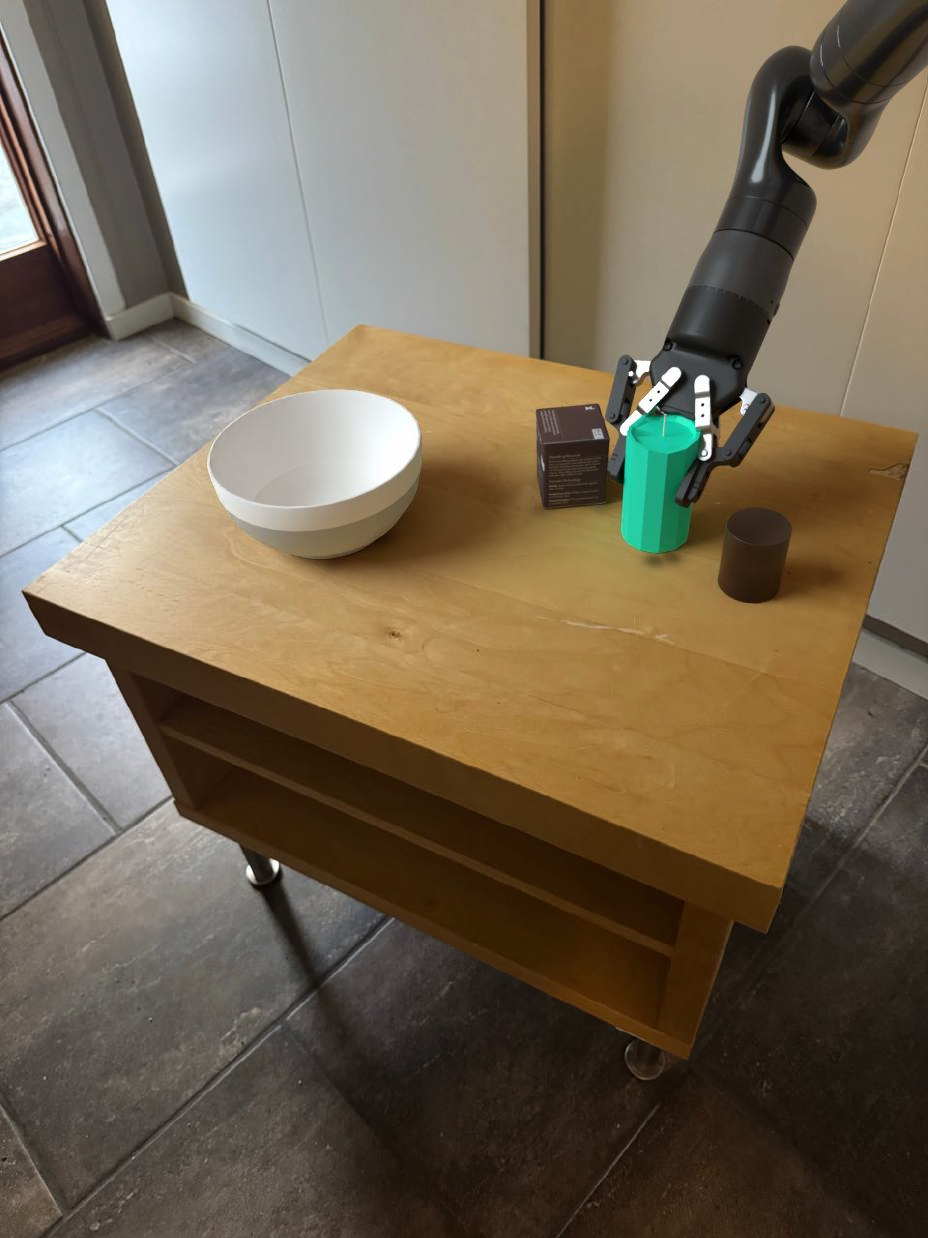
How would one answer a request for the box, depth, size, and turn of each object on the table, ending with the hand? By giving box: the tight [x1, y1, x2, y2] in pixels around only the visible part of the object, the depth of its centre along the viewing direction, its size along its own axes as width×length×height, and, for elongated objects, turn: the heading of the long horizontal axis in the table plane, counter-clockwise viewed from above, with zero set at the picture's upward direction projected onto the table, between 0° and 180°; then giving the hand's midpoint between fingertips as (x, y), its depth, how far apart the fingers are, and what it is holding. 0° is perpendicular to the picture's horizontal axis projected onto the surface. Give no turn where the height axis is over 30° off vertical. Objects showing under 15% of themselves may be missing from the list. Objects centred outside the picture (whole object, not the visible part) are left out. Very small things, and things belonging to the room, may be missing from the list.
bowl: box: [206, 388, 423, 560], centre depth 85 cm, size 19×19×9 cm
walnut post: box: [717, 506, 793, 604], centre depth 76 cm, size 5×5×6 cm
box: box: [535, 403, 611, 510], centre depth 86 cm, size 6×6×7 cm
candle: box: [620, 414, 701, 554], centre depth 79 cm, size 6×6×12 cm
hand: (648, 492), depth 79 cm, fingers open, 5 cm apart
